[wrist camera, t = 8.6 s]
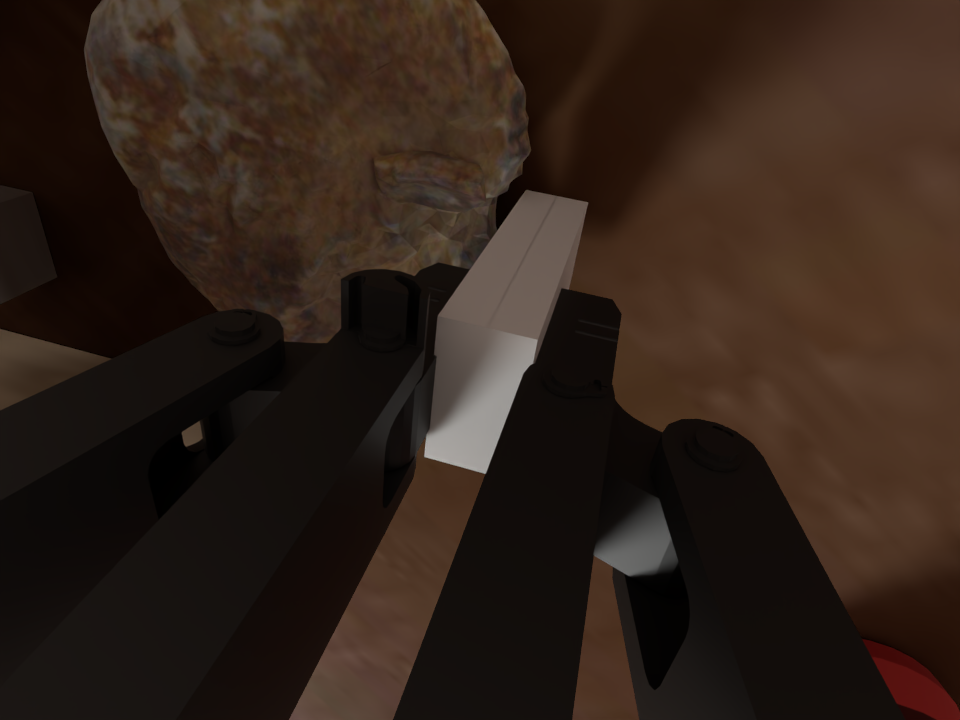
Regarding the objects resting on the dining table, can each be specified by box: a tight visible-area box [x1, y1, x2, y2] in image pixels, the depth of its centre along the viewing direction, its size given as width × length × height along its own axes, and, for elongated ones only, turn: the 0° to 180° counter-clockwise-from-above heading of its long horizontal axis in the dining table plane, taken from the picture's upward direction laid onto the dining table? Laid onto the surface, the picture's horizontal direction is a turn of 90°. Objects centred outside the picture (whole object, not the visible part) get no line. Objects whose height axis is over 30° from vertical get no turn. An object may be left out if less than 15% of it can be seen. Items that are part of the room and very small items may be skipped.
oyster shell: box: [84, 0, 531, 343], centre depth 15 cm, size 10×12×5 cm
